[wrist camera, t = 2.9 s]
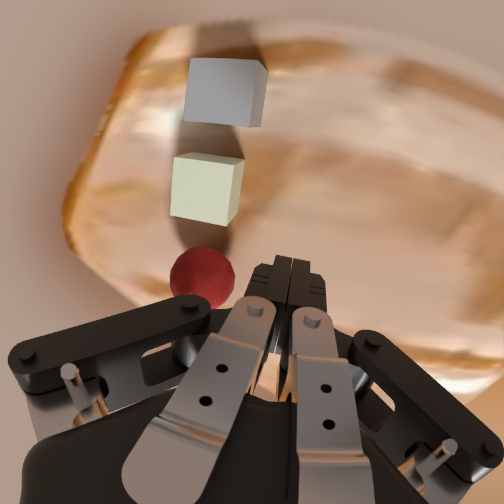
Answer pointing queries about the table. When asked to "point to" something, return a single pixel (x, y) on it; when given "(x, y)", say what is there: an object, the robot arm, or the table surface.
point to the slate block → (225, 91)
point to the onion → (203, 275)
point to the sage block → (206, 187)
